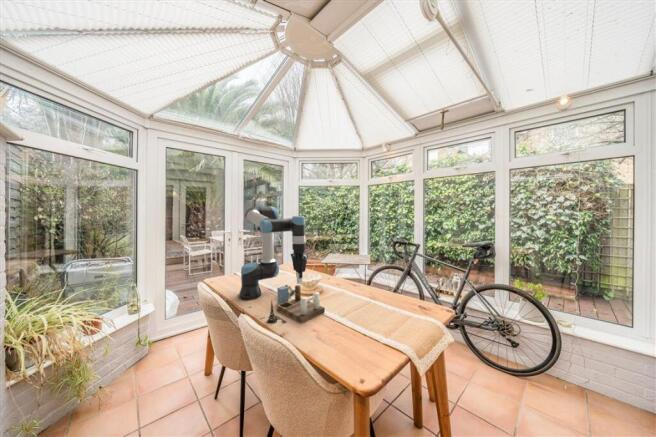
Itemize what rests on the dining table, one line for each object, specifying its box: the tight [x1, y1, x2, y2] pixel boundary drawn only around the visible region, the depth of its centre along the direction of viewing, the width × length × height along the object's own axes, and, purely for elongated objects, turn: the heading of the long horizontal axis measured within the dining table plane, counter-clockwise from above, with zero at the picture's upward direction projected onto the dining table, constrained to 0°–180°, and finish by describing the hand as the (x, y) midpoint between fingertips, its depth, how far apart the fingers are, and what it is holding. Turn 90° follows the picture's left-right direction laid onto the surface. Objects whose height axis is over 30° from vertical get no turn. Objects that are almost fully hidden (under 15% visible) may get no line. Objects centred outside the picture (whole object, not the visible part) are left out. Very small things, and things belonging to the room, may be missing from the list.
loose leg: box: [276, 285, 289, 305], centre depth 157 cm, size 5×5×11 cm
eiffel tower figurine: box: [259, 300, 288, 325], centre depth 135 cm, size 15×10×13 cm
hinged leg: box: [301, 291, 320, 315], centre depth 140 cm, size 14×4×9 cm, turn 137°
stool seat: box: [276, 284, 326, 324], centre depth 146 cm, size 24×18×12 cm
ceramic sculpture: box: [284, 284, 295, 299], centre depth 171 cm, size 11×9×15 cm
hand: (299, 283), depth 138 cm, fingers closed
